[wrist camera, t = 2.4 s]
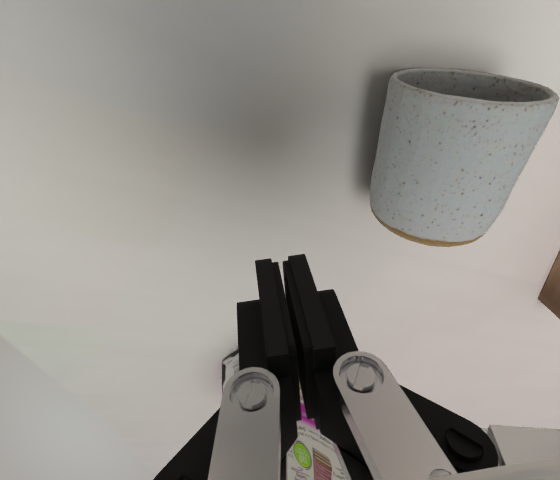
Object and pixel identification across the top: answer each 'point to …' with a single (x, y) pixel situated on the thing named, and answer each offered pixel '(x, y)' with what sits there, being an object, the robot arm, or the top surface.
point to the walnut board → (552, 289)
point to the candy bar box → (301, 441)
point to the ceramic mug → (453, 151)
